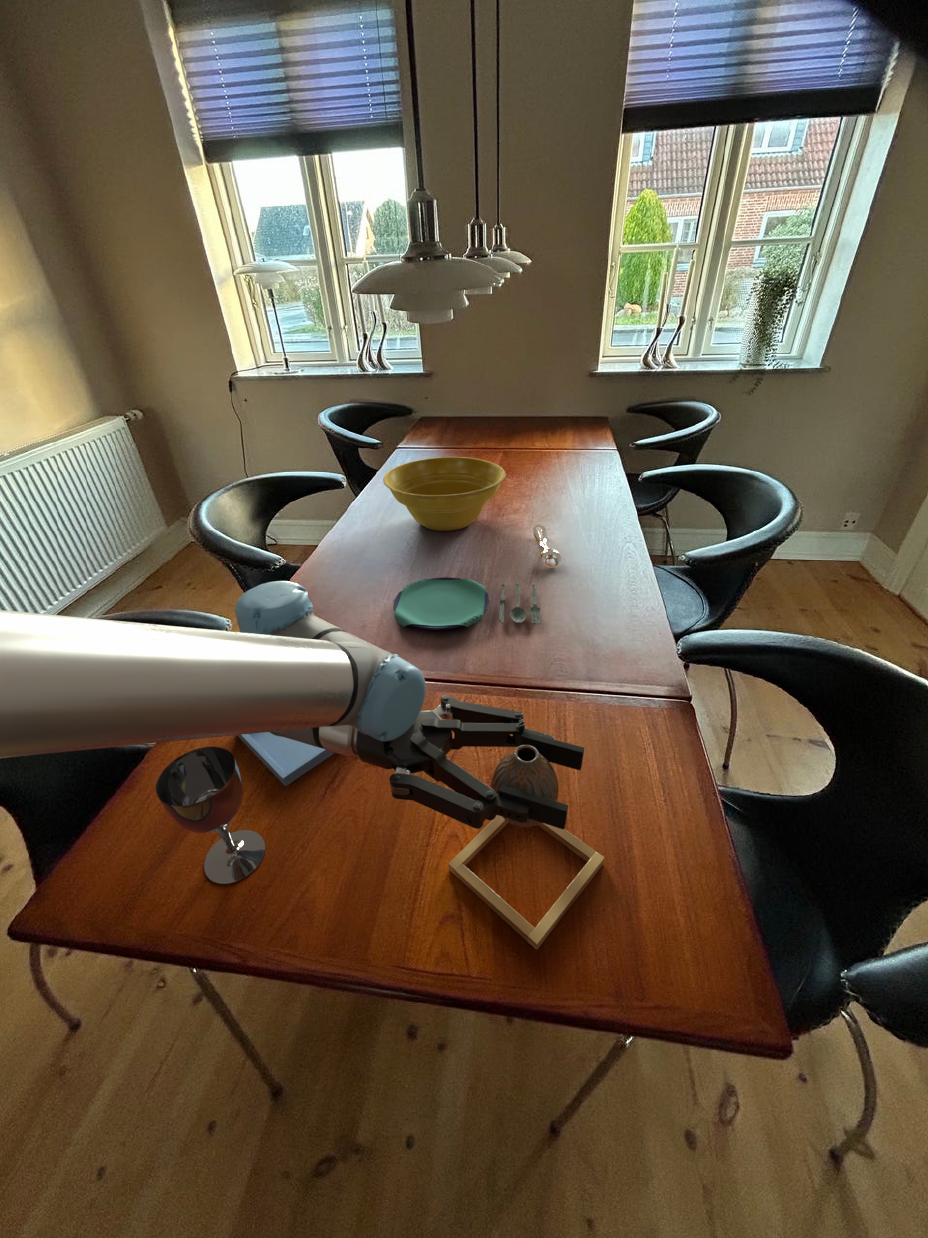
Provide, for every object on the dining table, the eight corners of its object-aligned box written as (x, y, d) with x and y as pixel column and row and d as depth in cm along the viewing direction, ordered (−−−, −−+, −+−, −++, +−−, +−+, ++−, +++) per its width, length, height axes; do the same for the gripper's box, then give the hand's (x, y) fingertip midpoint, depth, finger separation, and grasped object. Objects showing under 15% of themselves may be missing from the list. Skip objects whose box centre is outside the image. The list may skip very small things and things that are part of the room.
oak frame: (536, 950, 55) (537, 945, 54) (448, 869, 62) (447, 864, 62) (603, 863, 62) (604, 857, 62) (517, 801, 70) (518, 795, 69)
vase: (501, 777, 61) (502, 721, 56) (561, 793, 59) (568, 737, 54) (483, 827, 55) (482, 771, 50) (548, 847, 53) (554, 790, 48)
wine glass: (185, 876, 63) (137, 795, 54) (229, 820, 69) (193, 740, 61) (241, 896, 61) (200, 814, 52) (281, 836, 67) (251, 755, 58)
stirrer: (529, 518, 137) (547, 517, 137) (528, 530, 139) (546, 529, 139) (543, 558, 121) (563, 556, 121) (542, 571, 123) (562, 570, 123)
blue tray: (285, 786, 73) (282, 778, 72) (236, 734, 82) (233, 726, 81) (379, 722, 83) (378, 714, 82) (326, 681, 92) (324, 674, 91)
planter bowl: (405, 498, 163) (400, 454, 155) (510, 501, 158) (510, 456, 150) (373, 544, 136) (366, 494, 129) (498, 549, 131) (498, 497, 124)
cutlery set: (402, 584, 119) (401, 575, 118) (537, 585, 116) (537, 575, 115) (385, 635, 102) (384, 626, 101) (541, 638, 100) (542, 628, 99)
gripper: (413, 697, 69) (590, 743, 62) (326, 819, 54) (547, 900, 46) (408, 651, 65) (597, 694, 57) (312, 770, 50) (552, 850, 42)
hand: (574, 786), depth 52 cm, fingers closed on vase, 7 cm apart
